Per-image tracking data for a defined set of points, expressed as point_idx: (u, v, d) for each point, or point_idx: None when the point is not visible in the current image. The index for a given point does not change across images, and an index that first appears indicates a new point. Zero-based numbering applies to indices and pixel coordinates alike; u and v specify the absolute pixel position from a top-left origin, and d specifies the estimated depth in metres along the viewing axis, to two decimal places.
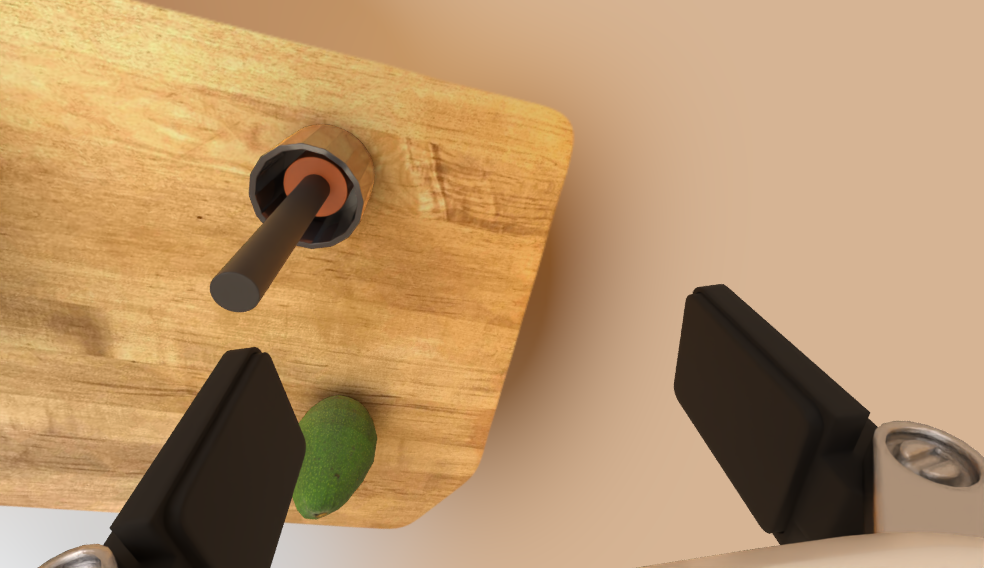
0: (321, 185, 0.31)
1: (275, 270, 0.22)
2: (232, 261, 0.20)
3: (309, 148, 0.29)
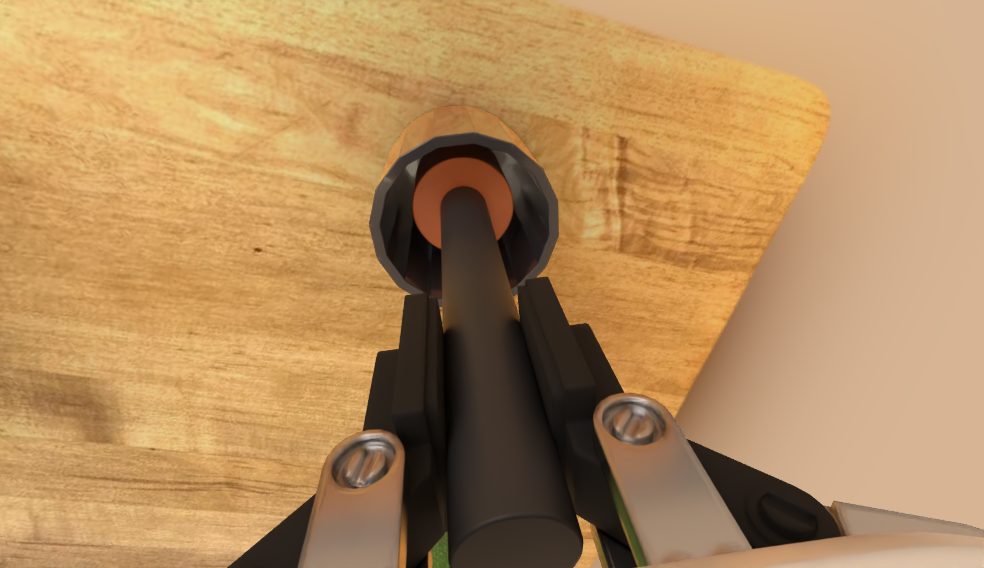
0: (484, 206, 0.18)
1: None
2: (491, 451, 0.07)
3: (486, 142, 0.16)
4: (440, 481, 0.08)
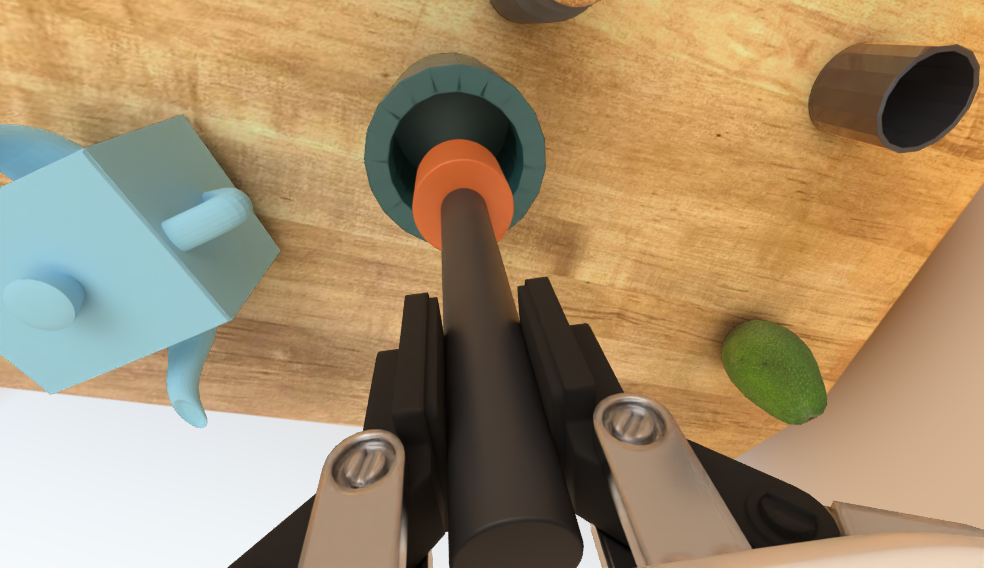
0: (485, 207, 0.18)
1: None
2: (491, 455, 0.07)
3: (960, 50, 0.31)
4: (440, 481, 0.08)
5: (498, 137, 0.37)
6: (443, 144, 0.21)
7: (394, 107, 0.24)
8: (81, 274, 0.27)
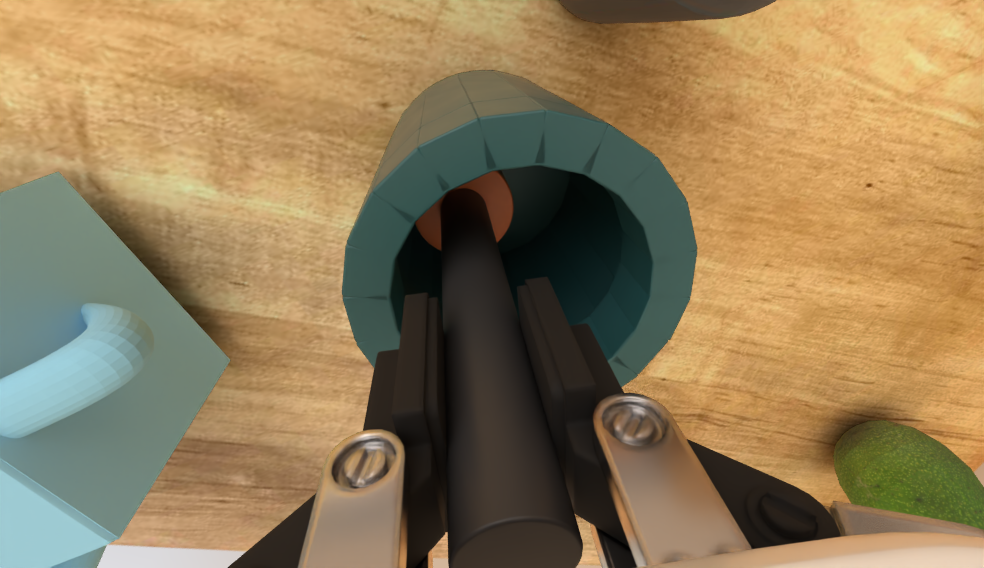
0: (485, 208, 0.18)
1: None
2: (491, 455, 0.07)
3: None
4: (440, 481, 0.08)
5: (554, 194, 0.25)
6: None
7: (403, 198, 0.11)
8: None
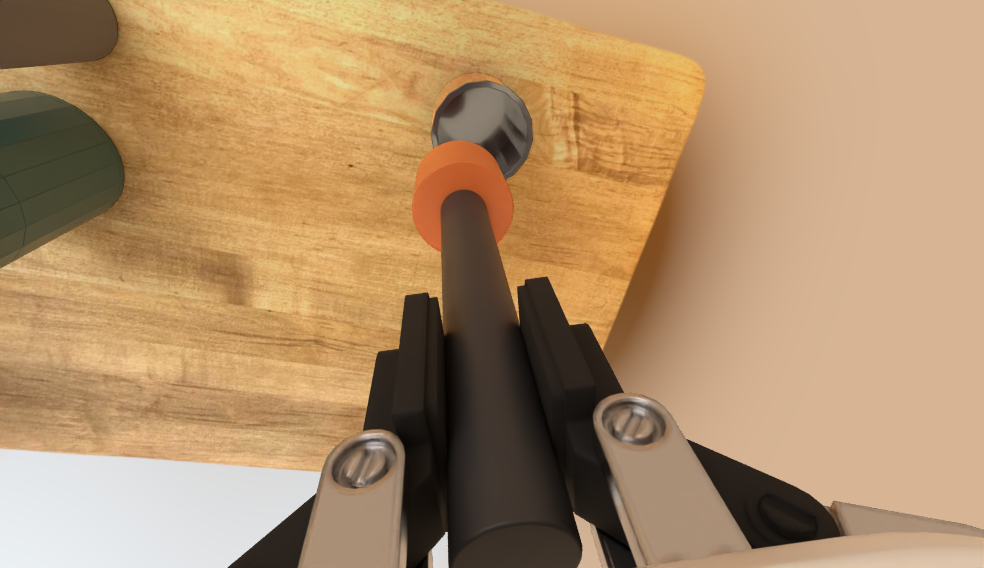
0: (485, 209, 0.18)
1: None
2: (491, 458, 0.07)
3: (493, 85, 0.31)
4: (440, 481, 0.08)
5: None
6: (443, 145, 0.22)
7: None
8: None
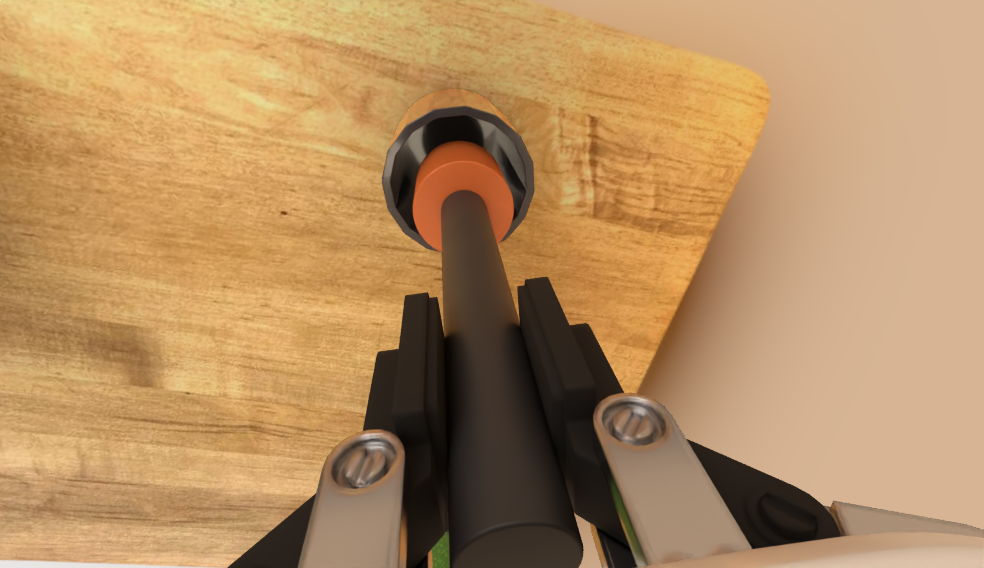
0: (485, 209, 0.18)
1: None
2: (492, 458, 0.07)
3: (474, 113, 0.20)
4: (440, 481, 0.08)
5: None
6: (443, 146, 0.22)
7: None
8: None
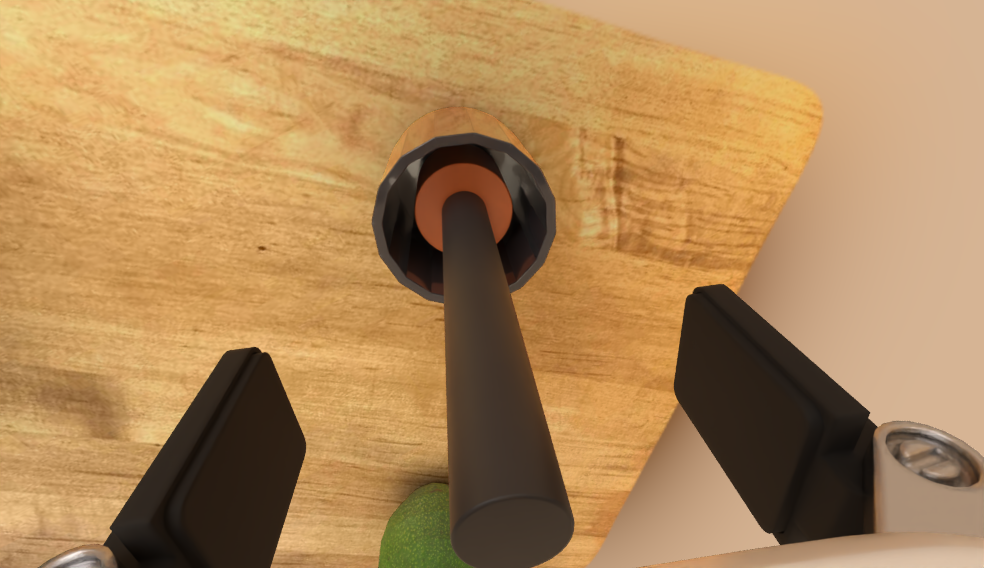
0: (484, 210, 0.19)
1: None
2: (489, 440, 0.08)
3: (485, 142, 0.16)
4: None
5: None
6: (444, 148, 0.22)
7: None
8: None
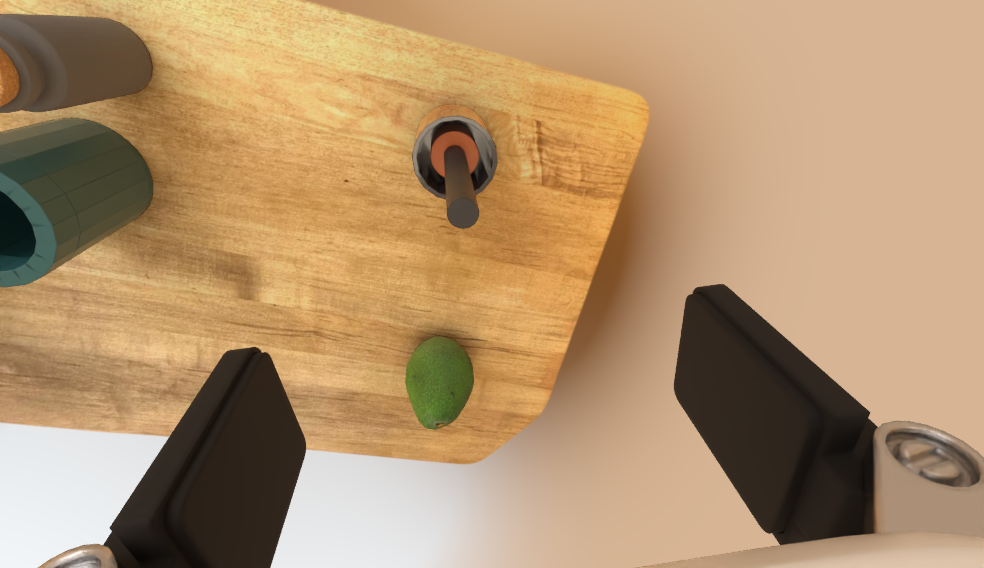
0: (464, 153, 0.40)
1: None
2: (457, 193, 0.29)
3: (463, 119, 0.37)
4: None
5: None
6: (445, 125, 0.43)
7: None
8: None
